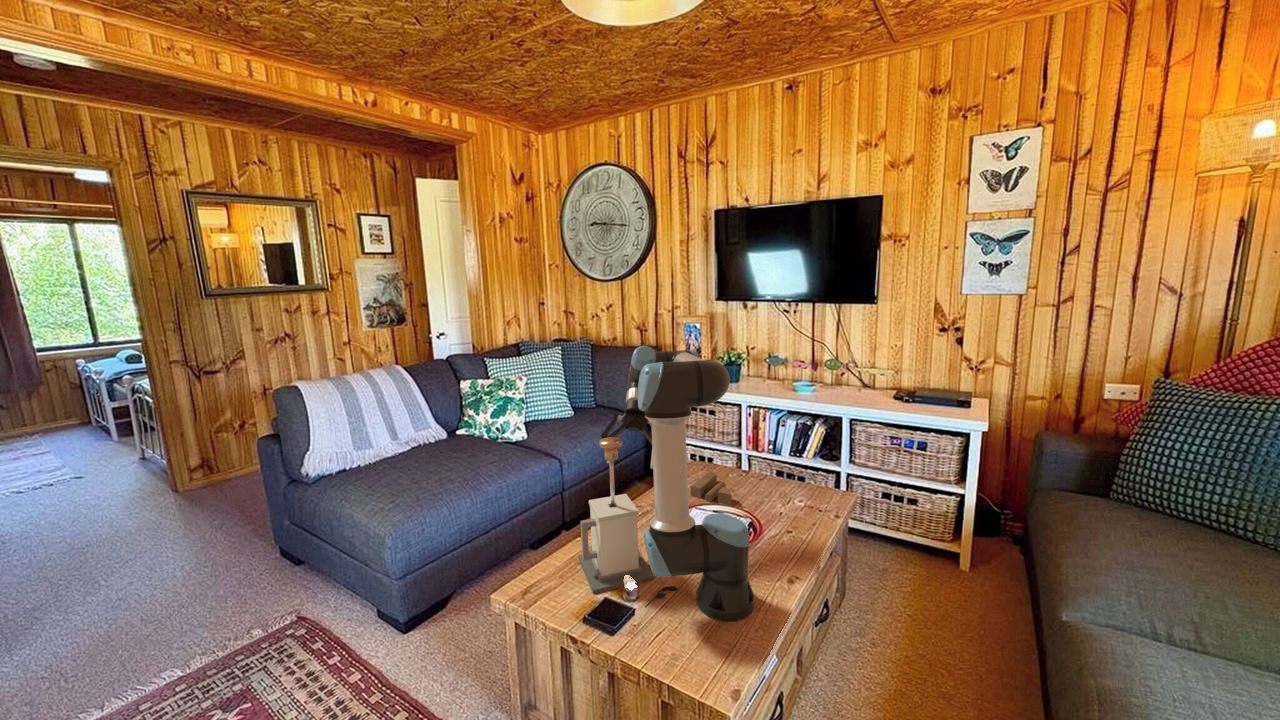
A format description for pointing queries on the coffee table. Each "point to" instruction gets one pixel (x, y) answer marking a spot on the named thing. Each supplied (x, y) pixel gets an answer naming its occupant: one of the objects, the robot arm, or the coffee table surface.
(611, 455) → the plunger
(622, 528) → the press
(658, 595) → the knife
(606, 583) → the mat
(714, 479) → the wooden block set
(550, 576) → the coffee table surface
